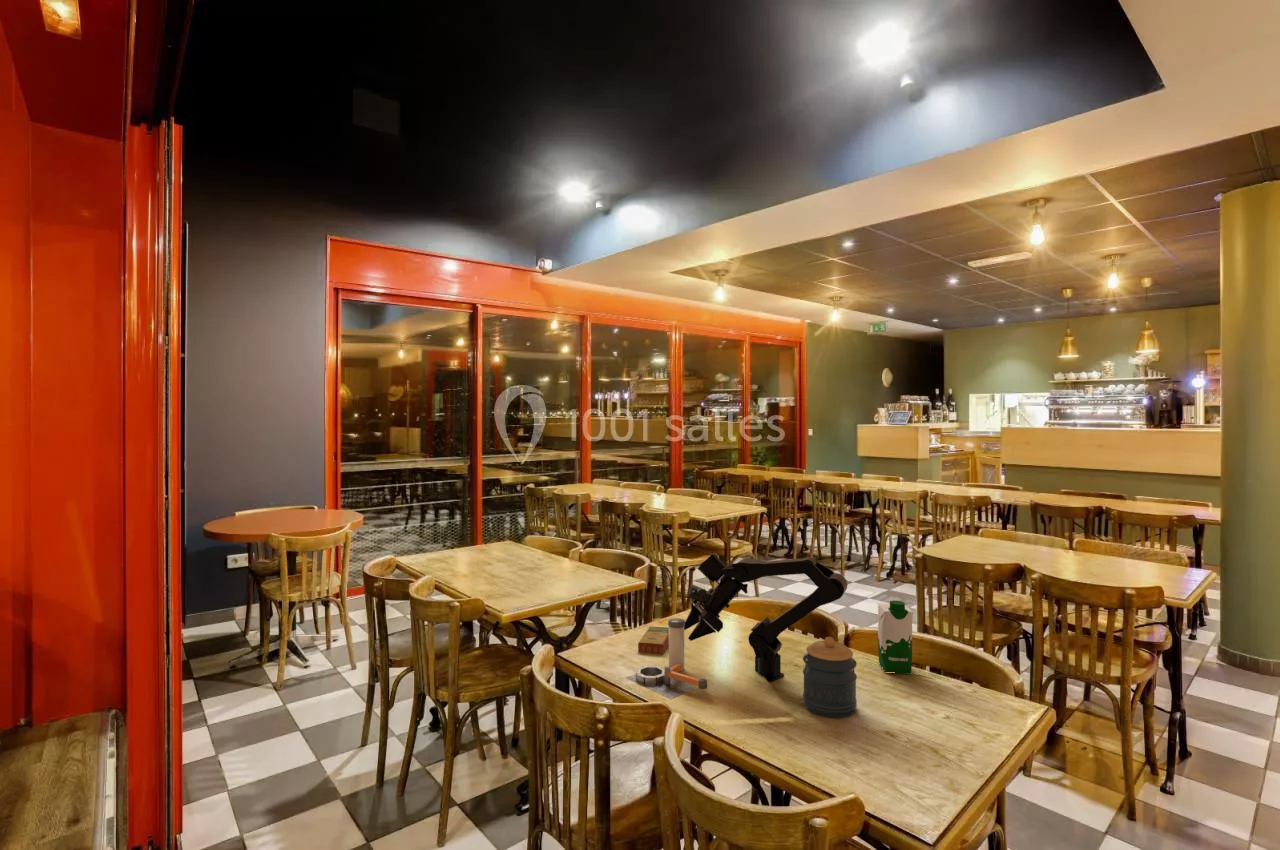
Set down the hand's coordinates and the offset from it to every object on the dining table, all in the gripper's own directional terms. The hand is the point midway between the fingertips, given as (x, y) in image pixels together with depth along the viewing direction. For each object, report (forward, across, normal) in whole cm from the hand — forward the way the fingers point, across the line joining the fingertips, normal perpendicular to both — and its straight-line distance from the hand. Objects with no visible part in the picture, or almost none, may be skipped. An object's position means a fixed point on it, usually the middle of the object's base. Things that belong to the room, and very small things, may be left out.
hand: (686, 634), depth 181 cm
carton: (+12, -20, +4) cm, 24 cm away
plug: (+9, 0, +5) cm, 11 cm away
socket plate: (+14, +9, +1) cm, 16 cm away
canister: (-14, +26, +30) cm, 43 cm away
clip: (+8, +12, +6) cm, 15 cm away
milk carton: (-34, +6, +51) cm, 61 cm away
